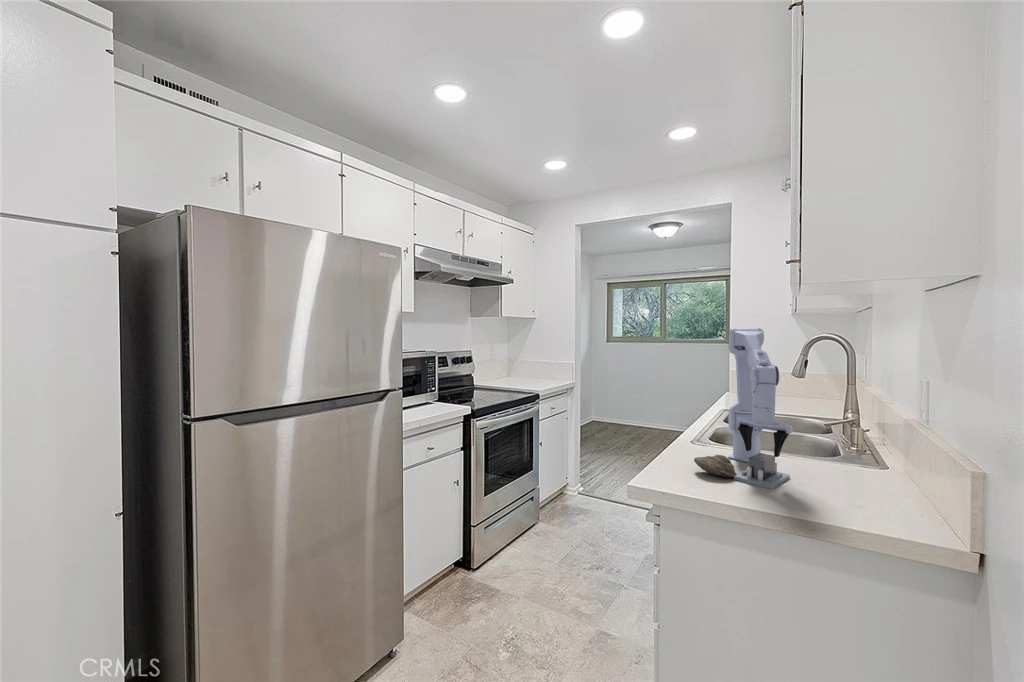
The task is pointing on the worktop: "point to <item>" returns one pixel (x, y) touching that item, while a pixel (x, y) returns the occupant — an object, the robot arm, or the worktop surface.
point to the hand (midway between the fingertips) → (762, 453)
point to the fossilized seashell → (716, 465)
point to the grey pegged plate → (767, 483)
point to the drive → (762, 465)
